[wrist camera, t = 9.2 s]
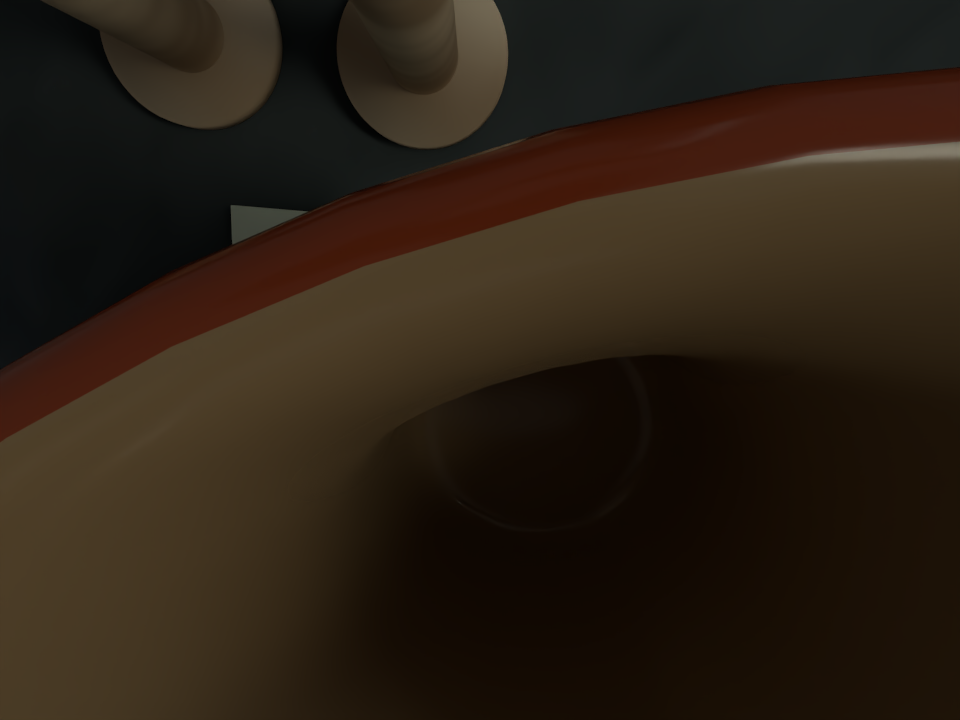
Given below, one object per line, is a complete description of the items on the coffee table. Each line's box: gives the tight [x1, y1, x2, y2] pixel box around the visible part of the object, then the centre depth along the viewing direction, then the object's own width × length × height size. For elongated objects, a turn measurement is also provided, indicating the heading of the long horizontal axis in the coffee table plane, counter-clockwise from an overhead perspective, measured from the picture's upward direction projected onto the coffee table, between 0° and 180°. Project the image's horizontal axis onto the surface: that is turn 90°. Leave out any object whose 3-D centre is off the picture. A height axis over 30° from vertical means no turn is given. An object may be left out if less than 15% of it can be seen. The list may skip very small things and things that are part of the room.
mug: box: [0, 67, 960, 720], centre depth 7 cm, size 12×9×10 cm
